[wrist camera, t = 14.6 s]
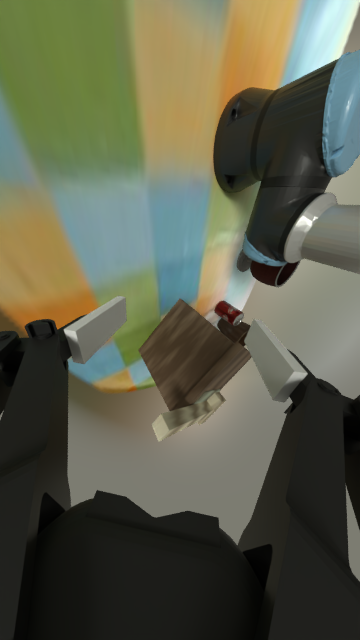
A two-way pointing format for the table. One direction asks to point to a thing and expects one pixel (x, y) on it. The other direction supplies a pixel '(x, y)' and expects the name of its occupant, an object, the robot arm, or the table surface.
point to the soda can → (228, 313)
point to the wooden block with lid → (190, 357)
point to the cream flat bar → (186, 416)
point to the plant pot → (234, 331)
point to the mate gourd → (267, 270)
